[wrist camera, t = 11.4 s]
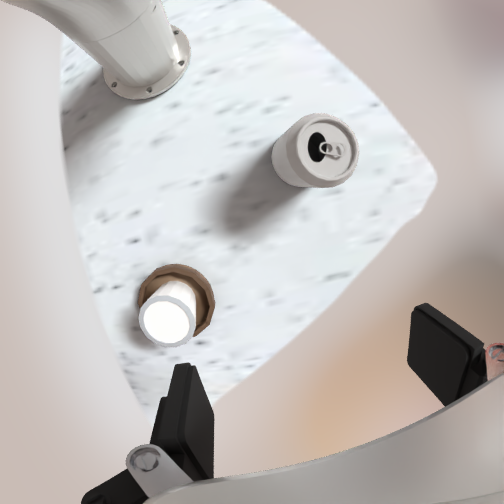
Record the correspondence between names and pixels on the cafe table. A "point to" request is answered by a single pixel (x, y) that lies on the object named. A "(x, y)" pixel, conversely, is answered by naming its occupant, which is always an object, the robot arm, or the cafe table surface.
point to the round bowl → (190, 278)
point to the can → (316, 152)
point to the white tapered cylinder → (169, 315)
